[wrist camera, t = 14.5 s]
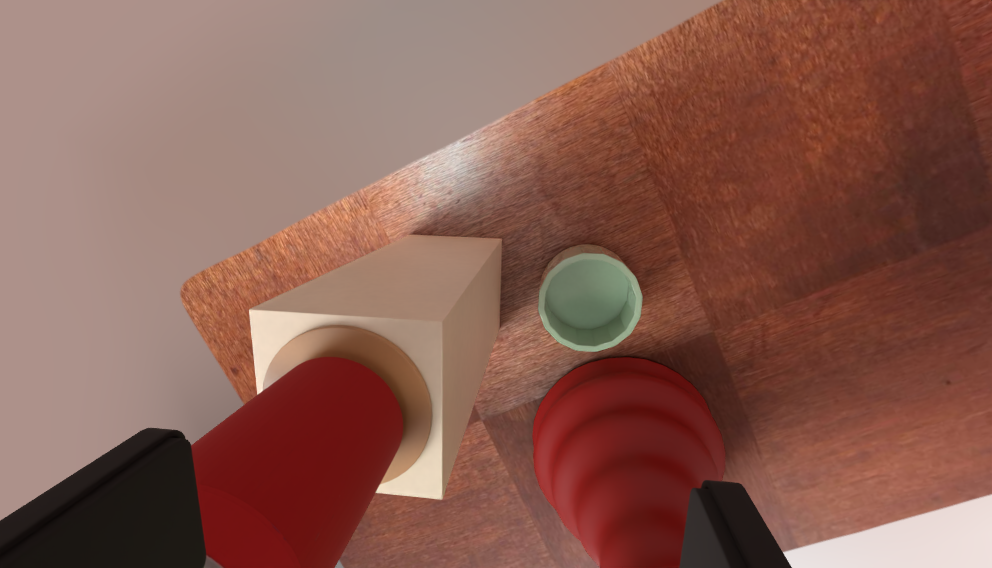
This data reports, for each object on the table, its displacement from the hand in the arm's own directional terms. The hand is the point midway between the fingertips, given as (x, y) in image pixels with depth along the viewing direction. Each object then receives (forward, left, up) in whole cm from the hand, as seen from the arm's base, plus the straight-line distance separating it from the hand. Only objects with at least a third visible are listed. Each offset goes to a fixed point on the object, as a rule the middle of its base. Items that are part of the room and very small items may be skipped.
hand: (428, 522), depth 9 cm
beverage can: (+6, -8, -14) cm, 17 cm away
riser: (+6, -8, -42) cm, 43 cm away
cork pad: (+6, -8, -14) cm, 17 cm away
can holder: (+6, +6, -42) cm, 43 cm away
